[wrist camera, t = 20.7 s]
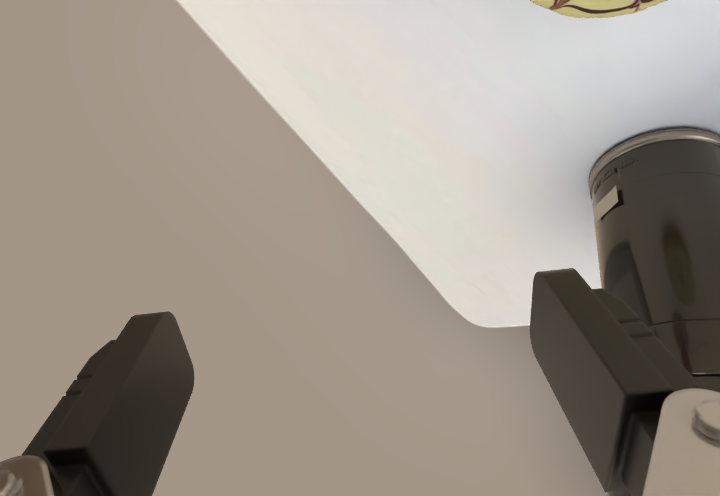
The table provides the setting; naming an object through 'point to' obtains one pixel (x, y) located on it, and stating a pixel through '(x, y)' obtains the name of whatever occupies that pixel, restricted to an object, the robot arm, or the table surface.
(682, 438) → the robot arm
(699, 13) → the table surface
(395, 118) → the table surface
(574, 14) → the decorated donut
